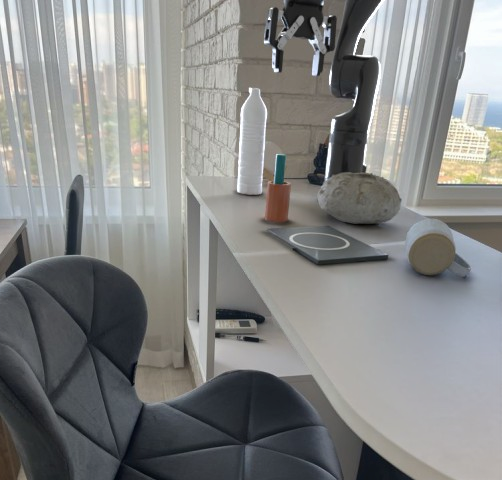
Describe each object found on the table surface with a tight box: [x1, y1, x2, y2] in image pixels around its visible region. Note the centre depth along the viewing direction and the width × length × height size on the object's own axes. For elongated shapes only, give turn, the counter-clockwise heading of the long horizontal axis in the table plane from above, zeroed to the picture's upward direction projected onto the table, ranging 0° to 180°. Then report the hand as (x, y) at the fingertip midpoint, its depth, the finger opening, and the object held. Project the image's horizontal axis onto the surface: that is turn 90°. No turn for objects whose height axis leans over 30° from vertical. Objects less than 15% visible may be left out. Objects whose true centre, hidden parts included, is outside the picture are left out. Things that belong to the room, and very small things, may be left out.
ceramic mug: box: [404, 218, 472, 278], centre depth 81 cm, size 11×8×8 cm
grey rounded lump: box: [317, 172, 403, 225], centre depth 109 cm, size 18×18×10 cm
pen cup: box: [264, 180, 292, 223], centre depth 105 cm, size 5×5×8 cm
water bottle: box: [236, 87, 268, 196], centre depth 129 cm, size 9×6×25 cm
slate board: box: [266, 225, 389, 266], centre depth 93 cm, size 14×20×1 cm
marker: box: [273, 153, 287, 184], centre depth 104 cm, size 2×2×13 cm
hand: (297, 74), depth 100 cm, fingers open, 8 cm apart
